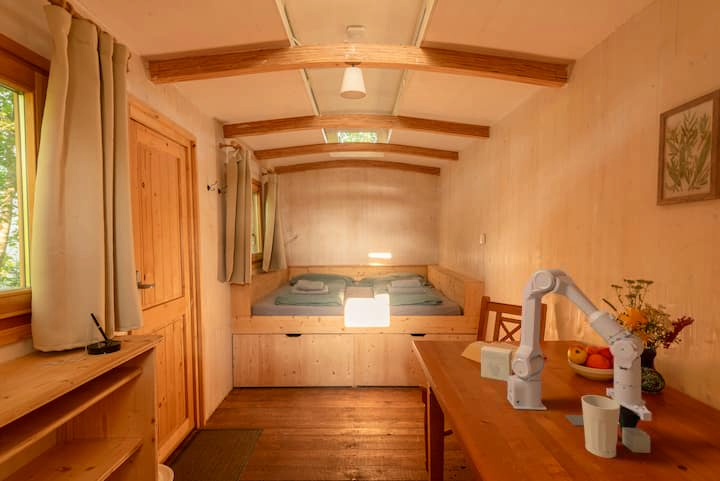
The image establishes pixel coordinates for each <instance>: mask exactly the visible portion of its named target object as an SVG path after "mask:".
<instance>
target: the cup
mask: <svg viewBox="0 0 720 481" xmlns="http://www.w3.org/2000/svg"><path fill="white" fill-rule="evenodd" d="M580 399H581V407H582V415H583V419H584V426H583V428H584V442H585V446H584V447H585V449H586V450H587V451H588V452H590V453H591V454H593V455H595V456H598V457H600V458H605V459H613V458H615V457H616V456H617V442H618V432H619V431H618V429H619V426H618V420H619V413H620V405H619V404H618V403H617V402H616V401H614V400H613V399H612V398H609V397H606V396H602V395H595V394H586V395H583V396H581V398H580Z"/></svg>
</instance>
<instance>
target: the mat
mask: <svg viewBox="0 0 720 481" xmlns="http://www.w3.org/2000/svg"><path fill="white" fill-rule="evenodd" d="M564 417H565V419H567V420H568V421H569V422H570V423H571V424H572V425H573V426H574V427H584V419H583V414H564Z"/></svg>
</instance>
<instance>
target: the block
mask: <svg viewBox="0 0 720 481" xmlns="http://www.w3.org/2000/svg"><path fill="white" fill-rule="evenodd" d="M621 434H622V438H621V439H622V442H621V443H622V444H623V445H624V446H626V447H625V448H627V449H628V450H630V451H631V452H632V453H642V454H643V453H644V454H645V453H646V454H650V453H651V436H650V435H649V434H648V433H646V432H645V431H644V430H642V429H641V428H640V427H636V428H625V427H622V432H621Z"/></svg>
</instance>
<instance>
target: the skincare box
mask: <svg viewBox="0 0 720 481" xmlns="http://www.w3.org/2000/svg"><path fill="white" fill-rule="evenodd" d="M511 360H512V361H513V349H509V348H508V349H507V348H503V347H502V348H501V347H495V346H488V345H484V346H483V347H482V348H481V349H480V371H481V372H480V377H482V378H486V379H492V380H498V381H501V382H502V381H504V382H507V383H508V377H509V376H512V372H511Z"/></svg>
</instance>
